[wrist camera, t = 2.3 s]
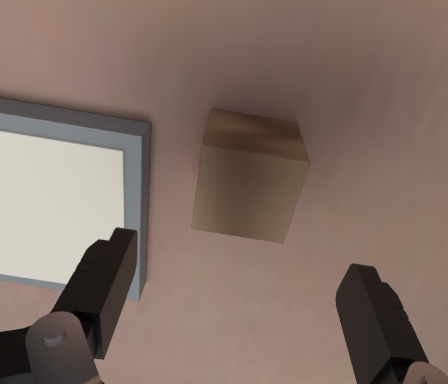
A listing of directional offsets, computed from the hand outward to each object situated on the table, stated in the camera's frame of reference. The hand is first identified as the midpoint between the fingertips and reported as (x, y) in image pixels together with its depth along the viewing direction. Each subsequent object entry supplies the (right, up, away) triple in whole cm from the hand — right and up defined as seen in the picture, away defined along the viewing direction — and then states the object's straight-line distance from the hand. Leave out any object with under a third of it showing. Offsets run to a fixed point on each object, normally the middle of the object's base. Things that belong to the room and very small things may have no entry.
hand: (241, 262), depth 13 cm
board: (-12, +2, +11) cm, 16 cm away
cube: (+1, +5, +8) cm, 10 cm away
